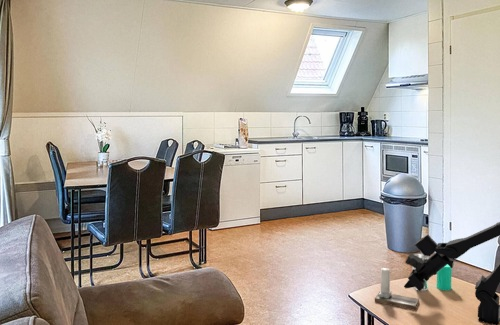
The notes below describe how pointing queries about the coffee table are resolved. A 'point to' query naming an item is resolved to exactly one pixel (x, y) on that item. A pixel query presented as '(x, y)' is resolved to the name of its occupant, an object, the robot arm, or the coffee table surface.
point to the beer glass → (415, 268)
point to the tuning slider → (385, 283)
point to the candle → (444, 278)
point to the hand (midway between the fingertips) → (404, 287)
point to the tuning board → (399, 301)
